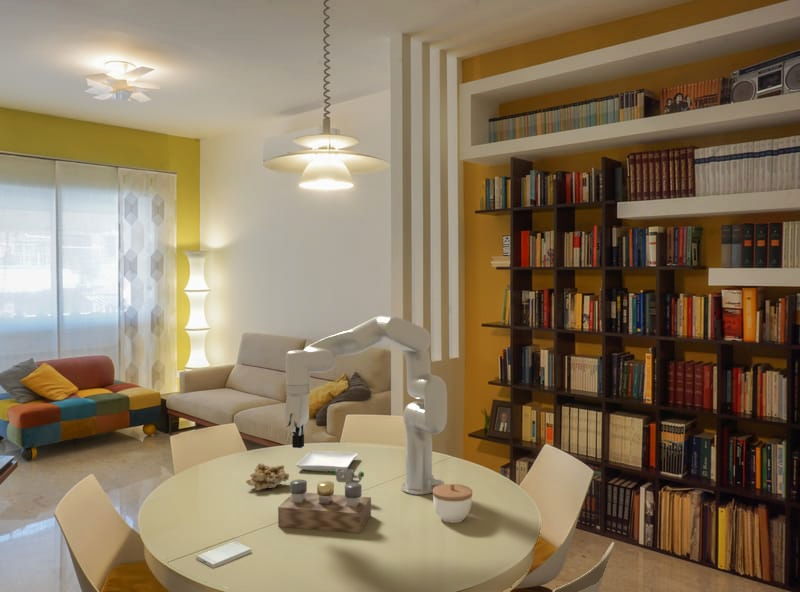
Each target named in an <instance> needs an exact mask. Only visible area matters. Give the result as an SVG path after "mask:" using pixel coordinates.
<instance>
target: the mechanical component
mask: <svg viewBox="0 0 800 592" xmlns="http://www.w3.org/2000/svg"><path fill="white" fill-rule="evenodd" d="M333 475H334V476H335V477H336V478H335V479H336V481H337V482H338V483H344V484H345V485H346V484H349V483H358V484H360V482H361V481H362V479H363V478H364V476H365V473H364V471H358V474H355V472H354V470H353V469H349V468H347V469H338V470H335V471H334V472H333Z"/></svg>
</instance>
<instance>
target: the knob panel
mask: <svg viewBox="0 0 800 592" xmlns="http://www.w3.org/2000/svg"><path fill="white" fill-rule="evenodd" d="M277 513H278V514H277V515H278V516H277V517H278V519H277V520H278V522H277V525H278V527H279V528H280V527H281V528H293V529H306V530H318V531H327V532H328V531H331V532H342V533H343V532H344V533H351V534H352V533H353V534H354V533H355V534H361V532H362V531H363V529H364V528H365V526H366V524H367V522H368V521H369V519H371V516H372V497H371V496H361V497H359V506H358V507H351V506H347V497H345V494H343V495H341V494H333V495H332V503H331V504H330V505H325V504H319V495H318V494H317V492H316V493H313V492H306V493H305V501H304V502H303V503H298V502H292V494H290V495H289V496H288V497H287V498H286V499H285V500H284V501H283V502H282V503H280V505H279V506H277Z"/></svg>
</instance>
